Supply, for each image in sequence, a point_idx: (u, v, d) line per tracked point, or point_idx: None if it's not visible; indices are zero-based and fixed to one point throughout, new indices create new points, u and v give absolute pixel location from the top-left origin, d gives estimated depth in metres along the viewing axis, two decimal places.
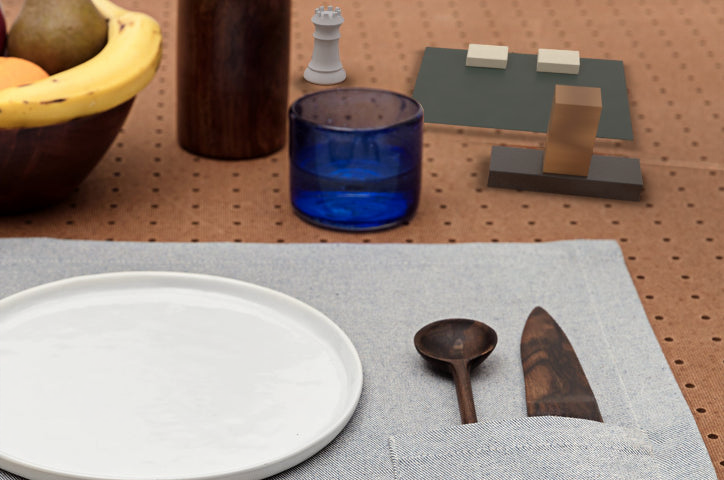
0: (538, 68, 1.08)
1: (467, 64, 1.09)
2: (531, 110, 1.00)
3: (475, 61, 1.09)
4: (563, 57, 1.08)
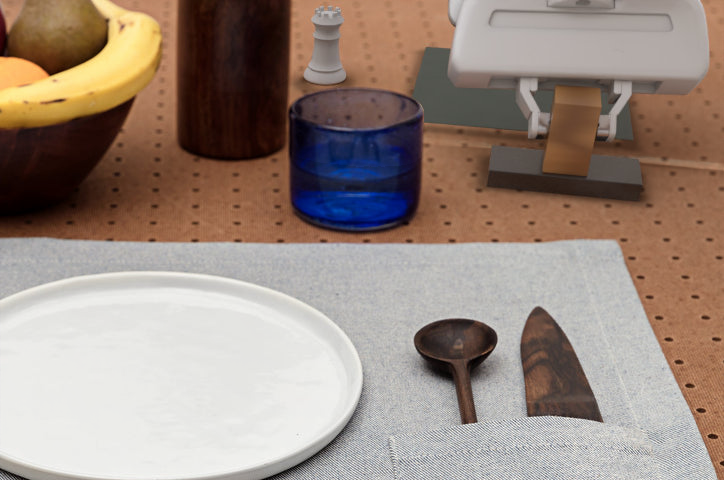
0: None
1: None
2: None
3: None
4: None
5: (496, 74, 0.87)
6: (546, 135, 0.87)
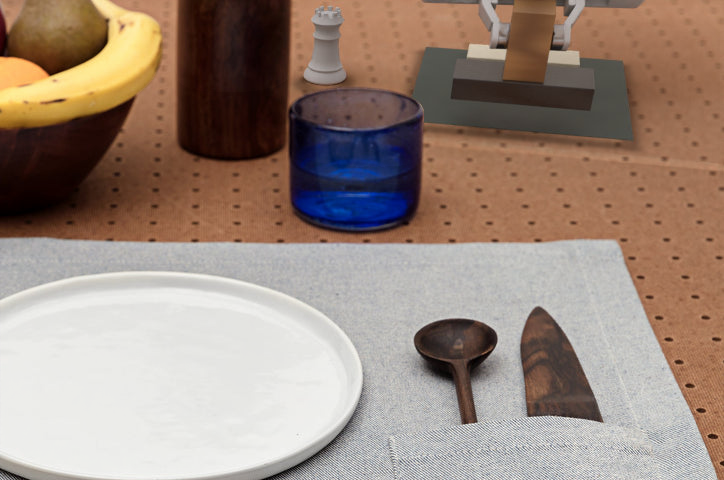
0: None
1: None
2: (531, 110, 1.00)
3: None
4: (563, 57, 1.08)
5: None
6: (506, 44, 0.93)
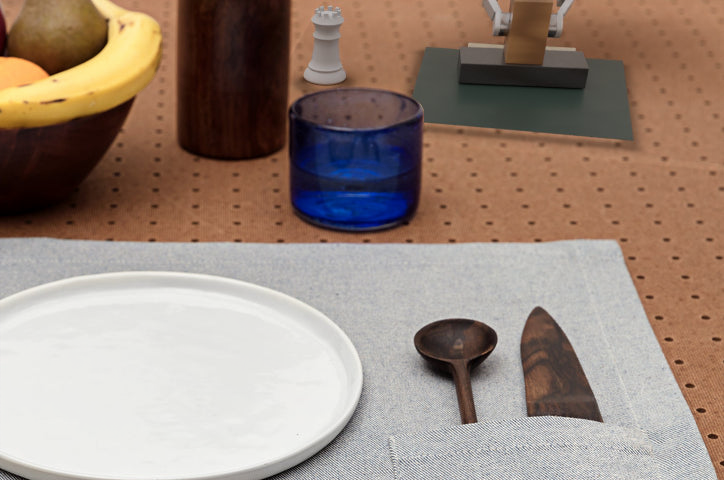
0: None
1: None
2: (531, 110, 1.00)
3: None
4: None
5: None
6: (507, 32, 1.04)
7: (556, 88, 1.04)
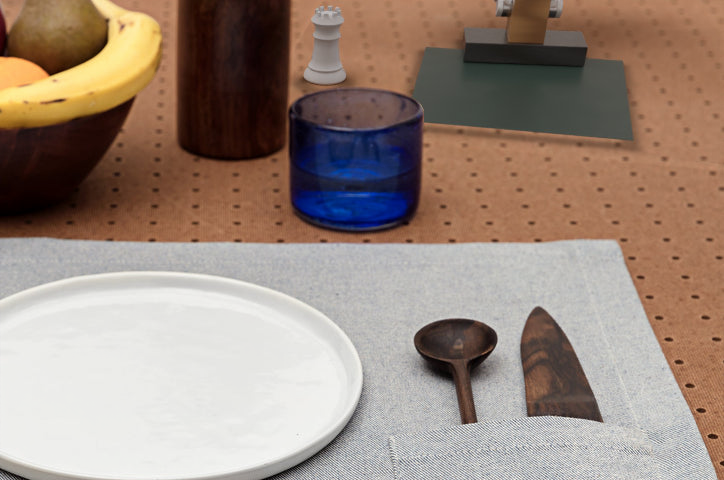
0: None
1: None
2: (531, 110, 1.00)
3: None
4: None
5: None
6: (509, 12, 1.09)
7: (556, 88, 1.04)
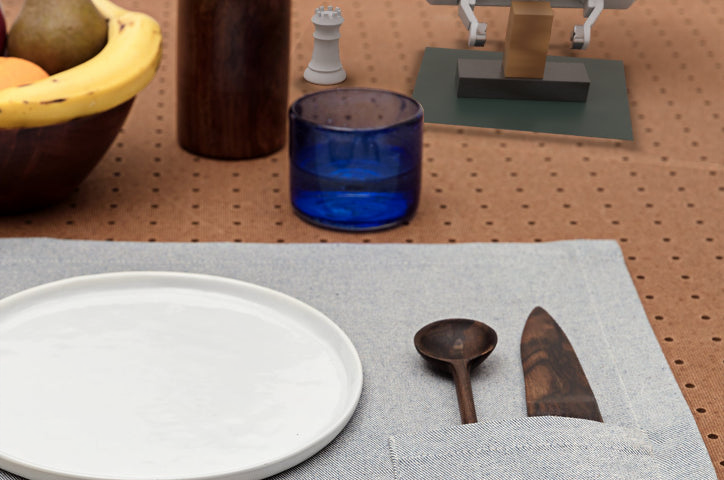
0: None
1: None
2: (531, 110, 1.00)
3: None
4: None
5: None
6: (483, 42, 1.01)
7: None
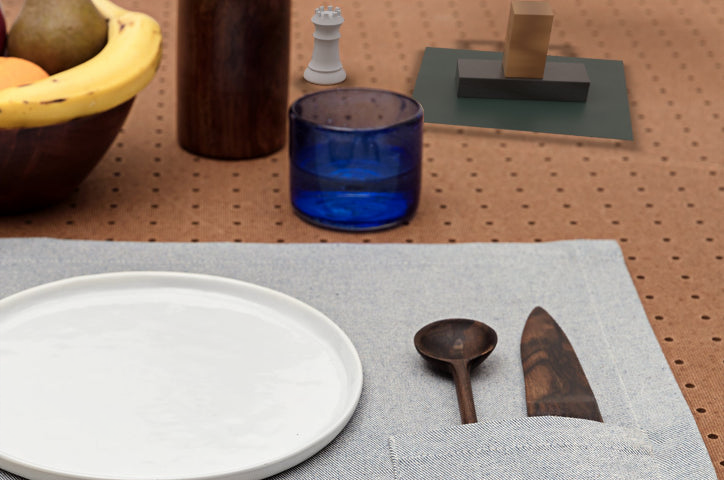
0: None
1: None
2: (531, 110, 1.00)
3: None
4: None
5: None
6: None
7: None
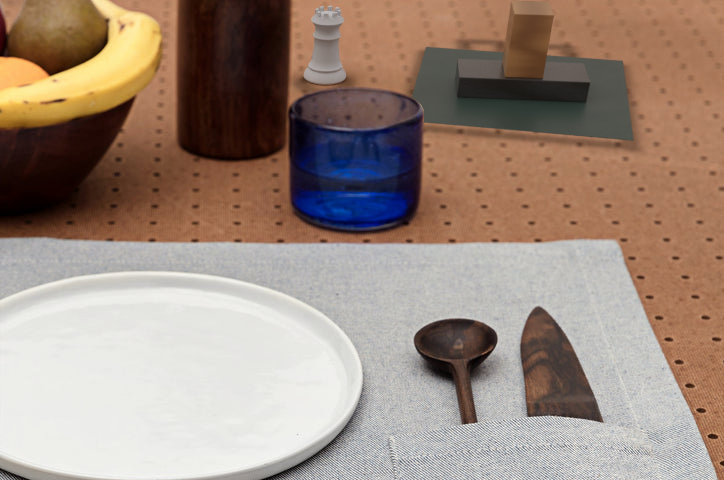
0: None
1: None
2: (531, 110, 1.00)
3: None
4: None
5: None
6: None
7: None
